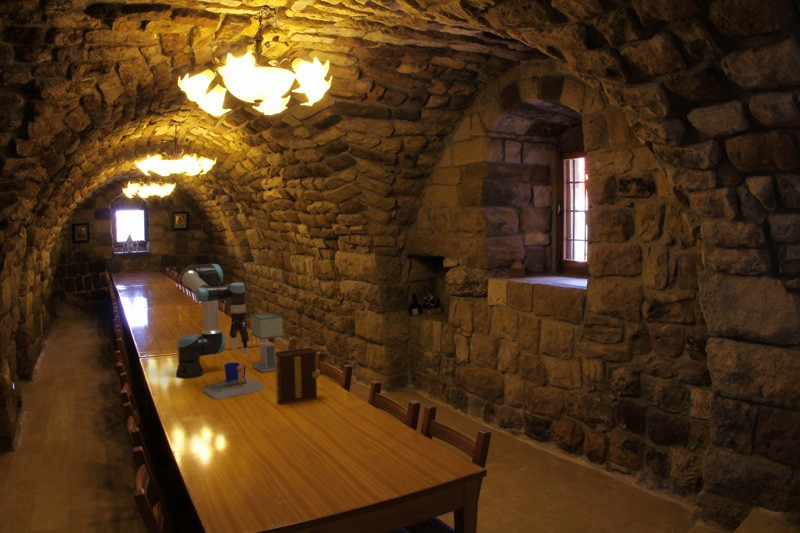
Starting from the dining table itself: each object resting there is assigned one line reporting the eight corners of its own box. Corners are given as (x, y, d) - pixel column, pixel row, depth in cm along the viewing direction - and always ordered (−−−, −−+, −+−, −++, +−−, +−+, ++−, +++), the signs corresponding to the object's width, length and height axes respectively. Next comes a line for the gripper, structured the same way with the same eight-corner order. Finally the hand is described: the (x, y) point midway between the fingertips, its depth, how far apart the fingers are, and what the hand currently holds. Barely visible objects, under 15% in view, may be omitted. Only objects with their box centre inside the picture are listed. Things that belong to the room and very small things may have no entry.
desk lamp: (251, 367, 366) (249, 314, 364) (273, 364, 374) (272, 312, 371) (261, 373, 351) (259, 318, 348) (284, 370, 358) (282, 316, 356)
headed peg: (234, 389, 318) (233, 366, 317) (243, 387, 321) (242, 365, 320) (238, 391, 314) (237, 368, 313) (247, 389, 317) (246, 366, 316)
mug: (242, 384, 328) (241, 366, 327) (222, 383, 330) (221, 365, 330) (249, 380, 336) (248, 362, 335) (229, 379, 338) (228, 362, 338)
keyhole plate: (215, 399, 300) (215, 392, 300) (203, 392, 314) (203, 385, 313) (263, 389, 316) (263, 383, 316) (250, 383, 329) (250, 377, 329)
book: (280, 405, 288) (278, 354, 286) (275, 401, 296) (273, 351, 294) (323, 398, 298) (321, 349, 297) (317, 394, 306) (316, 346, 304)
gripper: (222, 310, 322) (223, 348, 323) (240, 315, 302) (242, 356, 304) (235, 308, 326) (237, 346, 328) (254, 314, 307) (256, 354, 308)
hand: (239, 351), depth 316 cm, fingers open, 13 cm apart
